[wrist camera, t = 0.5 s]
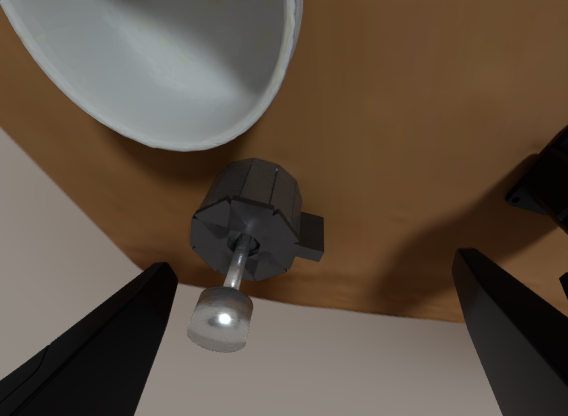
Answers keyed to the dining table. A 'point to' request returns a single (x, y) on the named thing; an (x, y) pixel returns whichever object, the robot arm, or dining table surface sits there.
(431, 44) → the dining table surface
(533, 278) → the dining table surface
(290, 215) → the octagonal grey mug
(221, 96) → the teacup
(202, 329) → the plunger
